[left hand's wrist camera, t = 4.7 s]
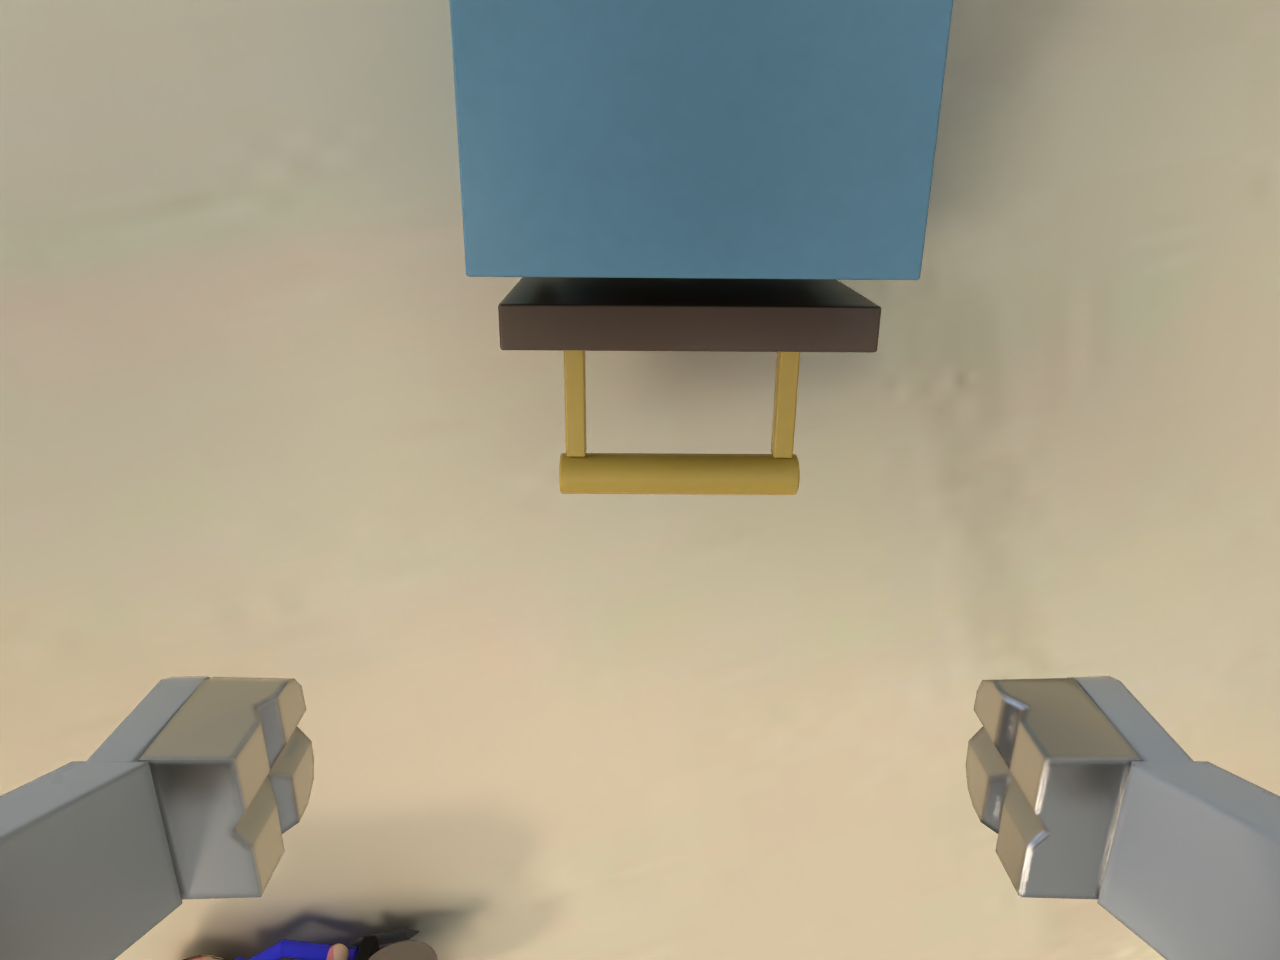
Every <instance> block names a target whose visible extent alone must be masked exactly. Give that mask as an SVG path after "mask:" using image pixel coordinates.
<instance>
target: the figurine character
mask: <svg viewBox="0 0 1280 960" xmlns="http://www.w3.org/2000/svg"><path fill="white" fill-rule="evenodd" d="M418 932H419V931H416V930H413V929H409V928H403V929H398V930H393V931H388V932H383V933H378V934H373V935H367V936H362V937H360V938H359V939H358V940H356V941H355V942H354V943H352V944H351V945H353V946H357V947H360V948H354V949H349V950H348V949H347V947H346V946H345V945H343V944H335V945H333V946H332V945H327V944H318V943H310V942H301V941H293V940H287V939H283V940H282V941H280V942H278V943H277V944H275V945H273V946H271V947H269V948H268V949H266V950H264V951H262V952H260V953H259V954H257V955H255V956H253V957H252V958H250V959H246V958H235V959H233V960H279V959H281V958H283V957H287V958H296V959H299V960H437V956H436V954H435V952H434V950H433V949H432V948H431V947H430V946H428V945H427V944H425V943H422V942H418V941H403V940H408V939H410V938H412V937H413V936H414V935H415V934H417V933H418ZM398 941H403V942H398ZM393 942H398V943H394V944H391V945H389V946H387V947H384V948H383V949H381V950H380V948H379V945H383V944H388V943H393ZM184 960H226V959H224V958H221V957H218V956H213V955H199V956H193V957H189V958H186V959H184Z"/></svg>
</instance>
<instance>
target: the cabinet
mask: <svg viewBox="0 0 1280 960" xmlns="http://www.w3.org/2000/svg"><path fill="white" fill-rule="evenodd" d="M952 5H953V0H450V13H451V30H452V47H453V63H454V80H455V96H456V113H457V130H458V146H459V163H460V179H461V196H462V213H463V229H464V246H465V262H466V274H467V276H469V277H588V278H720V279H852V280H918V279H919V278H920V273H921V265H922V257H923V248H924V240H925V232H926V223H927V215H928V206H929V198H930V190H931V181H932V173H933V165H934V156H935V148H936V139H937V131H938V123H939V114H940V106H941V97H942V89H943V81H944V72H945V64H946V56H947V47H948V39H949V30H950V22H951V14H952Z"/></svg>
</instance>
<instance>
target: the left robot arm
mask: <svg viewBox="0 0 1280 960" xmlns="http://www.w3.org/2000/svg"><path fill="white" fill-rule="evenodd" d="M305 711H306V705H305V700H304V695H303V690H302V686H301V685H300V684H299V683H298V682H297V681H296V680H295V679H289V678H240V677H212V678H210V677H170V678H166V679H163V680H161V681H160V682H159V683H158V684H157V685H156V686H155V687H154V688H153V689H152V690H151V691H150V692H149V694H148V695H147V696H146V697H145V698H144V699H143V700H142V701H141V702H140V703H139V704H138V706H137V707H136V708H135V709H134V710H133V711H132V712H131V713H130V714H129V715H128V716H127V718H126V719H125V720H124V721H123V722H122V723H121V724H120V725H119V726H118V727H117V728H116V730H115V731H114V732H113V733H112V734H111V735H110V736H109V737H108V738H107V739H106V740H105V742H104V743H103V744H102V745H101V746H100V747H99V748H98V749H97V750H96V751H95V752H94V754H93V755H92V756H91V757H90V758H89V759H88V760H87V761H86V762H70V763H68V764H66V765H64V766H62V767H60V768H58V769H56V770H54V771H52V772H50V773H48V774H46V775H44V776H41V777H39V778H37V779H35V780H33V781H31V782H29V783H27V784H25V785H23V786H21V787H19V788H17V789H15V790H13V791H10V792H8V793H6V794H4V795H2V796H0V960H114V959H115V958H117V957H118V956H119V955H120V954H121V953H123V952H124V951H125V950H126V949H127V948H129V947H130V946H131V945H132V944H134V943H135V942H136V941H137V940H138V939H140V938H141V937H142V936H143V935H145V934H146V933H147V932H148V931H149V930H151V929H152V928H153V927H154V926H155V925H157V924H158V923H159V922H160V921H162V920H163V919H164V918H165V917H166V916H168V915H169V914H170V913H171V912H172V911H174V910H175V909H176V908H177V907H179V906H180V905H181V904H182V899H209V898H243V897H261V895H262V894H263V892H264V890H265V888H266V886H267V884H268V882H269V880H270V878H271V876H272V874H273V872H274V870H275V868H276V866H277V864H278V863H279V861H280V859H281V857H282V855H283V853H284V846H283V840H282V834H283V833H284V832H285V831H287V830H288V829H290V828H291V827H293V826H294V825H295V824H297V823H298V822H299V821H300V819H301V817H302V815H303V813H304V811H305V809H306V807H307V805H308V802H309V797H310V793H311V788H312V784H313V779H314V756H313V749H312V742H311V740H310V739H309V738H308V737H307V736H306V735H305V734H304V733H303V732H302V731H301V730H300V729H299V728H298V727H297V725H298V723H299V721H300V720H301V718H302V716H303V714H304V713H305ZM974 711H975V713H976V714H977V716H978V718H979V720H980V721H981V723H982V725H983V727H982V728H981V729H980V730H979V731H978V732H977V733H976V734H975V735H974V736H973V737H972V738H971V739H970V740H969V742H968V751H967V759H966V773H967V784H968V791H969V794H970V797H971V801H972V804H973V807H974V809H975V811H976V813H977V815H978V817H979V819H980V821H981V822H982V823H983V824H985V825H986V826H987V827H989V828H990V829H992V830H993V831H995V832H996V833H998V840H997V846H996V853H997V855H998V857H999V859H1000V861H1001V862H1002V864H1003V866H1004V868H1005V870H1006V872H1007V874H1008V876H1009V878H1010V880H1011V882H1012V884H1013V886H1014V888H1015V889H1016V891H1017V893H1018V895H1019V897H1035V898H1070V899H1098V904H1099V905H1101V906H1102V907H1103V908H1104V909H1106V910H1107V911H1108V912H1109V913H1110V914H1112V915H1113V916H1114V917H1115V918H1116V919H1118V920H1119V921H1120V922H1121V923H1122V924H1124V925H1125V926H1126V927H1127V928H1129V929H1130V930H1131V931H1132V932H1133V933H1135V934H1136V935H1137V936H1138V937H1139V938H1141V939H1142V940H1143V941H1144V942H1146V943H1147V944H1148V945H1149V946H1150V947H1152V948H1153V949H1154V950H1155V951H1156V952H1158V953H1159V954H1160V955H1161V956H1163V957H1164V958H1165V959H1166V960H1280V796H1278V795H1276V794H1274V793H1271V792H1269V791H1267V790H1265V789H1263V788H1261V787H1259V786H1257V785H1255V784H1253V783H1251V782H1249V781H1247V780H1245V779H1243V778H1241V777H1238V776H1236V775H1234V774H1232V773H1230V772H1228V771H1226V770H1224V769H1222V768H1220V767H1218V766H1216V765H1214V764H1212V763H1210V762H1194V761H1193V760H1192V759H1191V758H1190V757H1189V756H1188V755H1187V754H1186V752H1185V751H1184V750H1183V749H1182V748H1181V747H1180V746H1179V745H1178V744H1177V743H1176V742H1175V740H1174V739H1173V738H1172V737H1171V736H1170V735H1169V734H1168V733H1167V732H1166V731H1165V730H1164V728H1163V727H1162V726H1161V725H1160V724H1159V723H1158V722H1157V721H1156V720H1155V719H1154V718H1153V716H1152V715H1151V714H1150V713H1149V712H1148V711H1147V710H1146V709H1145V708H1144V707H1143V705H1142V704H1141V703H1140V702H1139V701H1138V700H1137V699H1136V698H1135V697H1134V696H1133V695H1132V693H1131V692H1130V691H1129V690H1128V689H1127V688H1126V687H1125V686H1124V685H1123V684H1122V683H1121V681H1119V680H1117V679H1115V678H1112V677H1110V676H1099V677H1070V678H1052V679H1003V680H982V682H981V684H980V686H979V688H978V690H977V694H976V699H975V705H974Z"/></svg>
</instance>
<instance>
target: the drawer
mask: <svg viewBox="0 0 1280 960" xmlns="http://www.w3.org/2000/svg"><path fill="white" fill-rule="evenodd" d="M498 310H499V331H500V348H501V349H502V350H564V375H565V420H566V453H562V454H561V456H560V469H559V480H560V491H561V493H562V494H714V495H795V494H796V493H797V491H798V487H799V461H798V458H797V456H796V455H795V454H793V443H794V429H795V416H796V402H797V389H798V375H799V362H800V352H876V351H877V345H878V335H879V326H880V316H881V307H879V306H878V305H876V304H875V303H873V302H871V301H870V300H868V299H867V298H865V297H863V296H862V295H860V294H859V293H857V292H855V291H854V290H852V289H851V288H849V287H847V286H846V285H844V284H843V283H841V282H839V281H838V280H836V279H720V278H588V277H522V279H521V280H520V281H519V282H518V283H517V284H516V286H515V287H514V288H513V289H512V290H511V291H510V292H509V294H508V295H507V296H506V297H505V298H504V299H503V300H502V302H501V303H500V304H499V306H498ZM585 351H735V352H777V364H776V379H775V395H774V410H773V426H772V441H771V453H772V454H645V453H586V380H585Z"/></svg>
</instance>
